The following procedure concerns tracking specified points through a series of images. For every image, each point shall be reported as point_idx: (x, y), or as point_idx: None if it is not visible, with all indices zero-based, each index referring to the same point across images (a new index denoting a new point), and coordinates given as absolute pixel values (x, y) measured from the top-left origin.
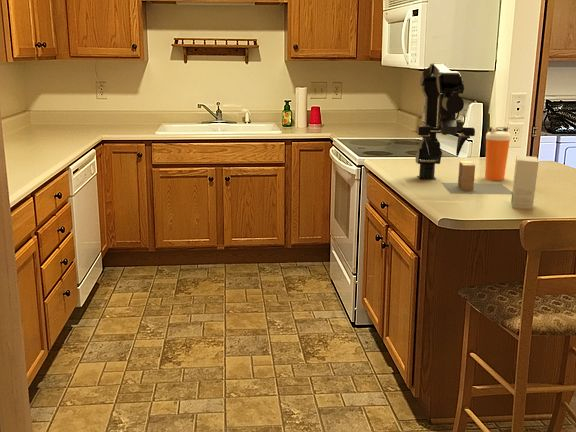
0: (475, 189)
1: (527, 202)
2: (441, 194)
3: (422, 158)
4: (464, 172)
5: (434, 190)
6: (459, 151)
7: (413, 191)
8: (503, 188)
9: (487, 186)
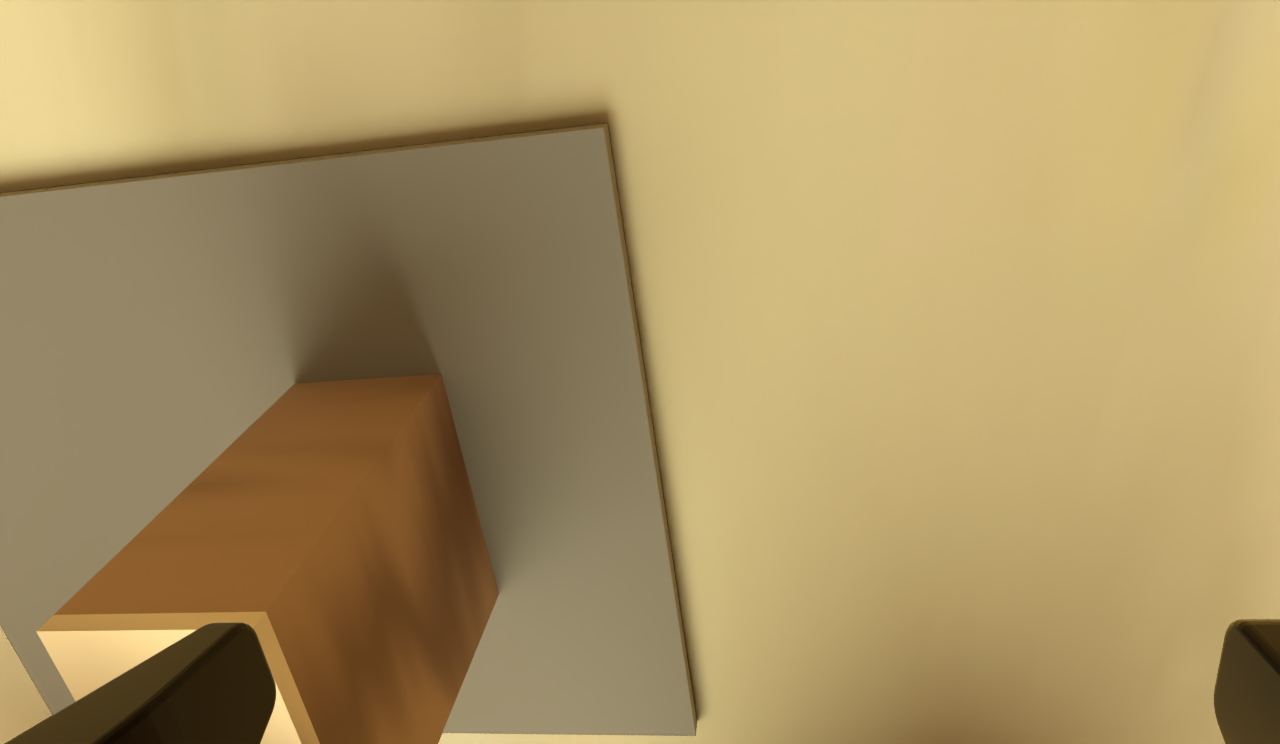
0: None
1: None
2: (744, 119)
3: None
4: (304, 526)
5: (823, 379)
6: (56, 721)
7: (1184, 263)
8: None
9: None
